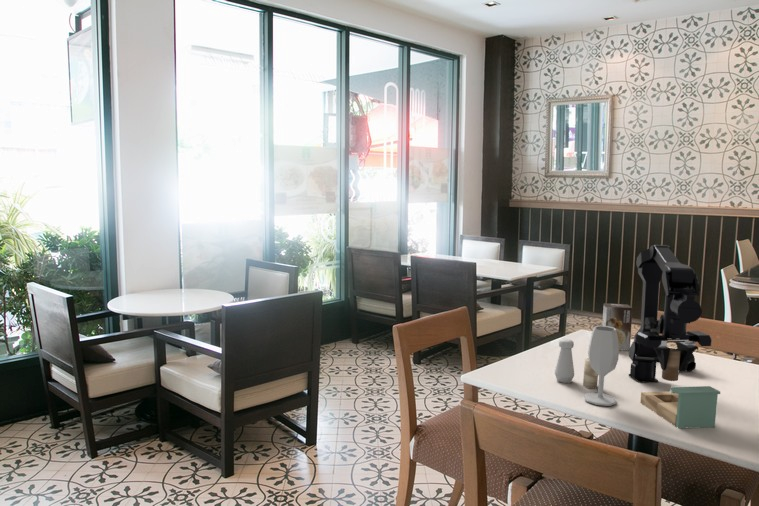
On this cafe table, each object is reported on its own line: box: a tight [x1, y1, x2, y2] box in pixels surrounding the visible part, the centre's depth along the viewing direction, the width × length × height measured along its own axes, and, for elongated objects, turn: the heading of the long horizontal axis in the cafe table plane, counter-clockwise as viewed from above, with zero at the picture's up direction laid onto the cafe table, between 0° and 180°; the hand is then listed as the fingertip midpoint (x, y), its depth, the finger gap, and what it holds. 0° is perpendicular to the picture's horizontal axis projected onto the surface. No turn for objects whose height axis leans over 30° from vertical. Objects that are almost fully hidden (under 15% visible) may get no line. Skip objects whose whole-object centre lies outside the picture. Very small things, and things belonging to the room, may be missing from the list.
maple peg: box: [582, 357, 599, 389], centre depth 182 cm, size 4×4×8 cm
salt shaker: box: [554, 338, 575, 384], centre depth 186 cm, size 6×6×13 cm
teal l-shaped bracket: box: [669, 385, 721, 429], centre depth 154 cm, size 11×4×9 cm, turn 97°
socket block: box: [640, 391, 679, 427], centre depth 162 cm, size 10×16×3 cm, turn 7°
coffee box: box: [601, 302, 633, 351], centre depth 223 cm, size 9×6×16 cm
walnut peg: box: [661, 347, 681, 382], centre depth 164 cm, size 4×4×8 cm
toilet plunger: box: [676, 347, 697, 373], centre depth 203 cm, size 9×11×18 cm
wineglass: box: [583, 325, 620, 407], centre depth 169 cm, size 9×9×21 cm
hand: (670, 369), depth 164 cm, fingers closed on walnut peg, 4 cm apart
